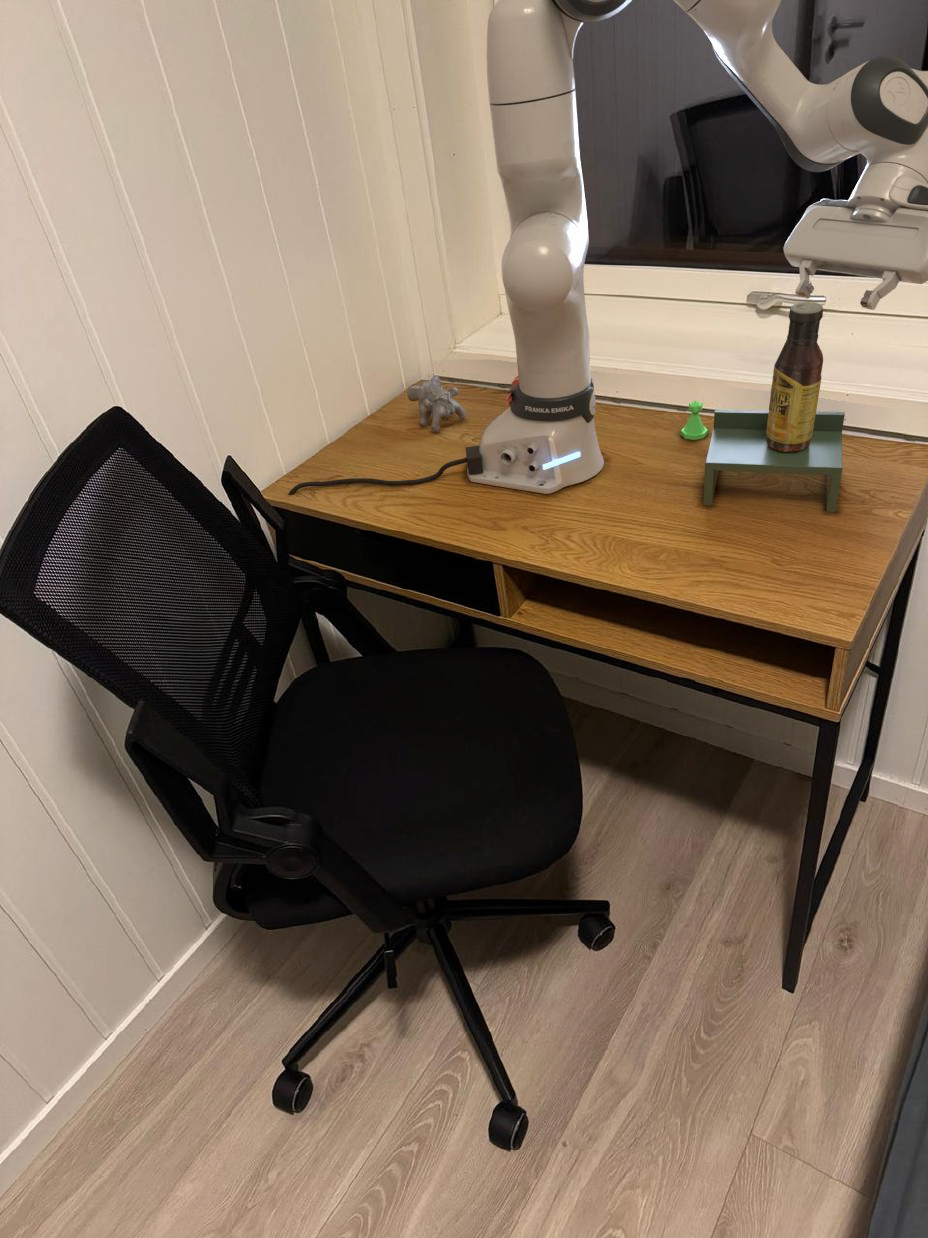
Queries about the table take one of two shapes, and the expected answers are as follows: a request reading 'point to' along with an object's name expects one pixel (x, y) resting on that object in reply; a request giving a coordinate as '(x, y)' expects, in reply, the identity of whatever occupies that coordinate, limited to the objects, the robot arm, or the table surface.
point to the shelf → (773, 450)
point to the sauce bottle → (796, 382)
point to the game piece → (694, 423)
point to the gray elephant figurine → (435, 402)
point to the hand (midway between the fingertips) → (833, 301)
